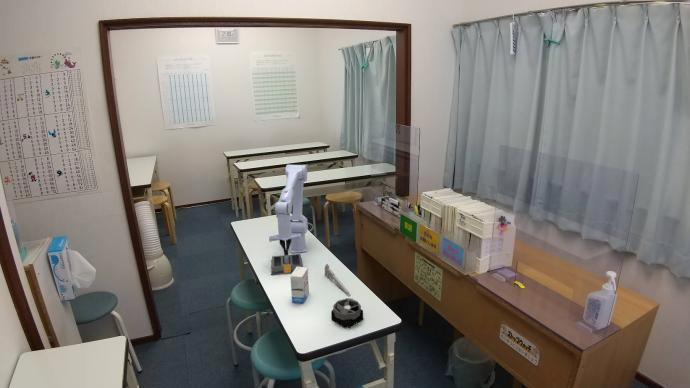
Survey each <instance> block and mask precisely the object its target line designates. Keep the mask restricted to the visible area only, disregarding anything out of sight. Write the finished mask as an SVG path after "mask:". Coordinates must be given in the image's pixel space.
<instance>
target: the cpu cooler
mask: <svg viewBox="0 0 690 388" xmlns="http://www.w3.org/2000/svg"><path fill="white" fill-rule="evenodd" d="M332 307H333V308H332V309H331V313H330V314H331V315H330V317H331V321H333V322H334V323H336V324H338V325H340V326H341V327H342V328H344V329H347V328H348V329H350V328H351V327H354V326H356V324H358V323H359V322H361V321H362V320H364V309H362V305H361V304H360V303H359V301H357V300H355V299H354V298H351V297H350V298H348V297H346V298H343V299H338V300H337V301H336V302H335V303H334V304H333V305H332Z"/></svg>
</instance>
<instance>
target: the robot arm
mask: <svg viewBox="0 0 690 388" xmlns="http://www.w3.org/2000/svg"><path fill="white" fill-rule="evenodd" d="M284 172H285V176H286V183H285V187H284V188H283V189H282V190H281V192H280V197H279V198H278V199H279V200H278V201H277V202H275V204H274V205H275V206H274V213H275V216H276V218H277V231H278V234H273V235H269V236H268V240H269V241H268V242H270V243H271V242H275V241H279V245H280V246H281V248H282V250H283V254H284V253H285V255H289V249H290V253H291V254H296V253H297V254H299V253H306V252H308V251H307V246H306V245H307V244H306V235H305V234H307V233H308V231H309V229H308V228H309V225H308V224H309V223H308V218H307V217H306V216H305V215H303V203H304V202H303V200H304V199H303V198H304V196H303V195H304V183H306V182H307V180H308V167H307V165H306V164H286V166H285V171H284ZM291 213H292V214H291Z"/></svg>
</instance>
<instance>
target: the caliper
mask: <svg viewBox="0 0 690 388" xmlns="http://www.w3.org/2000/svg"><path fill="white" fill-rule="evenodd" d="M324 276H326V278H330V279H331V280H334V282H335V283H336V285H338V287H339V289H341V290H342V292H343V293H344V294H345V295H346V296H348V297H351V294H350V291H349V290H348V289H347V288H346V287H345V285H344V284H343V283H342V282H341V280H339V278H338V276H336V275H335V273H334V271H333V270H332V269H331V268H330V265H329V264H328V263H326V264H325V265H324Z"/></svg>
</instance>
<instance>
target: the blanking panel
mask: <svg viewBox="0 0 690 388" xmlns="http://www.w3.org/2000/svg"><path fill="white" fill-rule="evenodd" d="M283 255H284V261H285V264H289V255H290V254H288V255H285V253H284V252H283Z"/></svg>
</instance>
